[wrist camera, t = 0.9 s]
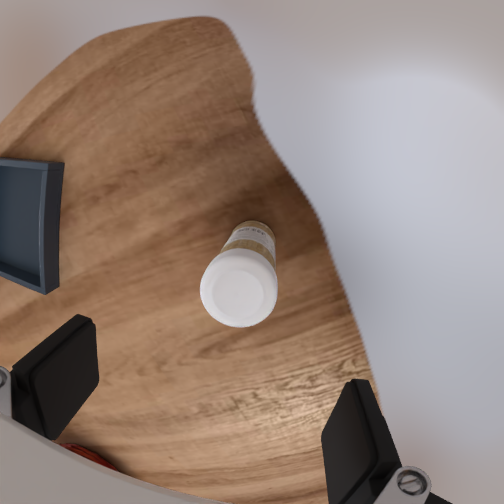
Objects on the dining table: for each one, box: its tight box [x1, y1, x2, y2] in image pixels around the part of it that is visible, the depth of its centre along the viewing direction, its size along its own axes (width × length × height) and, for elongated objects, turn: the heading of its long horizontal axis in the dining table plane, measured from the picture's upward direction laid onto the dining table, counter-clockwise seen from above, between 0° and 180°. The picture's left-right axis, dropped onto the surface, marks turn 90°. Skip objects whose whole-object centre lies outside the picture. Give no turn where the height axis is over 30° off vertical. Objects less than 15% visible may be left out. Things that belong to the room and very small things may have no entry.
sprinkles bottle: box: [200, 221, 278, 327], centre depth 24 cm, size 5×5×13 cm
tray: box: [0, 157, 64, 295], centre depth 30 cm, size 16×14×3 cm
